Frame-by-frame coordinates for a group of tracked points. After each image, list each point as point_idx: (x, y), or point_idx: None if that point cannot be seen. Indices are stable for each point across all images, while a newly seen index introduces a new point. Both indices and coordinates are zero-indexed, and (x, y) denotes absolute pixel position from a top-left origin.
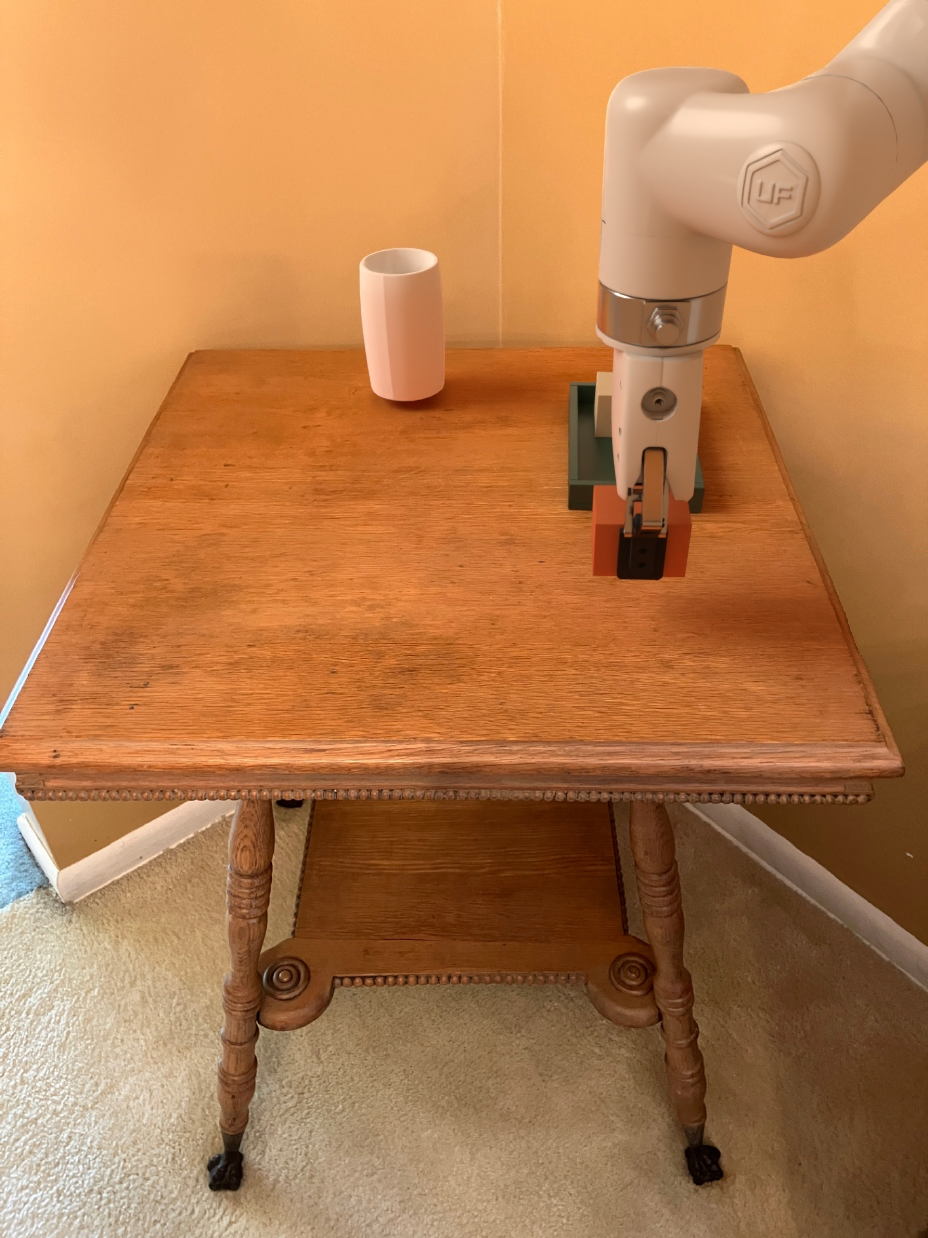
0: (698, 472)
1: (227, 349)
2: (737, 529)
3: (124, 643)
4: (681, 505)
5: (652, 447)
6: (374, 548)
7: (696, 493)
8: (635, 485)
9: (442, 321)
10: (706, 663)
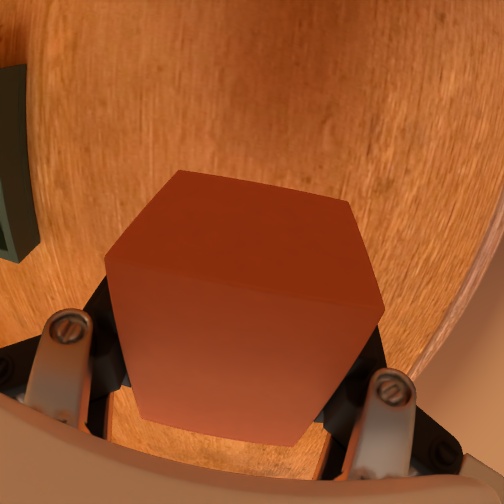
0: None
1: None
2: (62, 9)
3: (253, 472)
4: (248, 310)
5: None
6: None
7: (1, 79)
8: (122, 365)
9: None
10: (395, 128)
